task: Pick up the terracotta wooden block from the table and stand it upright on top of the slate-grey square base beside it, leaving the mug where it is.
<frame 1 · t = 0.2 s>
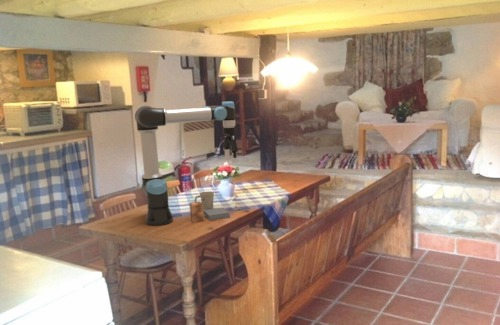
hand: (231, 161, 293), 28 cm above the table, tool pointing down, fingers open, 13 cm apart
block: (197, 220, 269), on the table
mug: (204, 209, 292), on the table
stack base: (216, 216, 275), on the table
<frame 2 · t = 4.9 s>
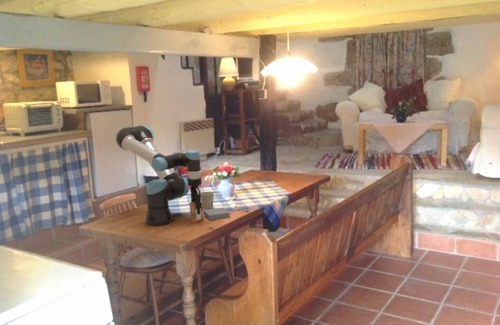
hand: (197, 217, 269), 1 cm above the table, tool pointing down, fingers closed on block, 6 cm apart
block: (197, 220, 269), on the table, touching gripper
everything else where it was.
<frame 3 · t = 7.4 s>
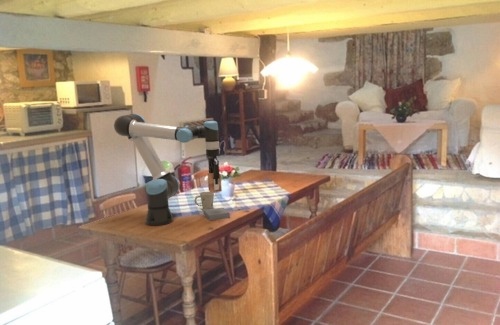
hand: (215, 188, 272), 17 cm above the table, tool pointing down, fingers closed on block, 6 cm apart
block: (215, 190, 272), point 15 cm above the table, touching gripper
everything else where it was.
when the fingers open (6 cm above the table, at t = 10.0 s): block drops 1 cm, resting on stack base.
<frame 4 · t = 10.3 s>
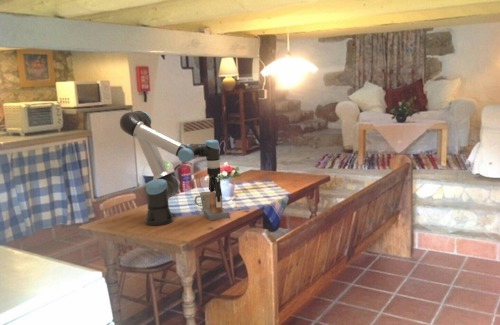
hand: (215, 204, 273), 7 cm above the table, tool pointing down, fingers open, 10 cm apart
block: (216, 211, 274), point 3 cm above the table, touching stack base
everything else where it was.
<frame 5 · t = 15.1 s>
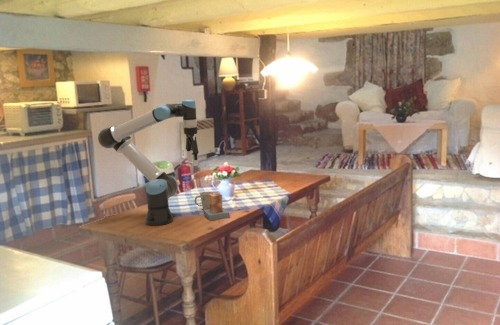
hand: (192, 163, 273), 31 cm above the table, tool pointing down, fingers open, 13 cm apart
nothing on the table moved.
at the end: block inside the target area on the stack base (0.1 cm from its centre), point 3.0 cm above the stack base's base; block tilted 0°; the gripper is holding nothing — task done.
